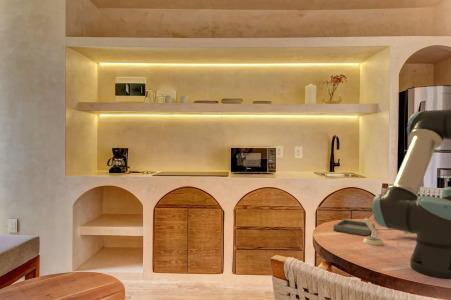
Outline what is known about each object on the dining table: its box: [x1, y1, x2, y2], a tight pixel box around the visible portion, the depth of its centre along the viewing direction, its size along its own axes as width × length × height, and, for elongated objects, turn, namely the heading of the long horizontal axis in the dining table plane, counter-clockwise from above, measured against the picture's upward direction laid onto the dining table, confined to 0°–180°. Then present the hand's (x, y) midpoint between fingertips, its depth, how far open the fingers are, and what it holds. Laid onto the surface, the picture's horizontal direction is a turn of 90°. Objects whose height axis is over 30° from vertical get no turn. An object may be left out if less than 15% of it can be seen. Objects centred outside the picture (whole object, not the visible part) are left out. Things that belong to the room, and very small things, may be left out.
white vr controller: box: [363, 217, 384, 246], centre depth 143 cm, size 8×12×7 cm
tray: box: [333, 219, 376, 237], centre depth 162 cm, size 15×15×2 cm
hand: (392, 226), depth 144 cm, fingers open, 13 cm apart
